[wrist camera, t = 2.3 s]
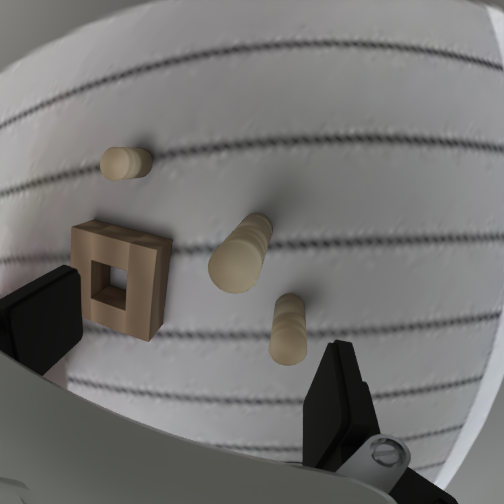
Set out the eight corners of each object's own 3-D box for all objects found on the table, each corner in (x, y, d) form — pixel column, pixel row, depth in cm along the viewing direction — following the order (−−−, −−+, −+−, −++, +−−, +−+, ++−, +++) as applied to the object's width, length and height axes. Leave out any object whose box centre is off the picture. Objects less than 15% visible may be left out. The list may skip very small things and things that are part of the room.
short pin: (154, 150, 29) (130, 148, 24) (149, 179, 30) (125, 183, 25) (129, 146, 29) (103, 145, 24) (124, 175, 30) (98, 178, 25)
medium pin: (308, 297, 31) (312, 338, 23) (300, 323, 32) (301, 368, 24) (279, 290, 31) (274, 330, 23) (272, 316, 32) (265, 361, 24)
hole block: (172, 239, 31) (156, 250, 27) (162, 324, 34) (148, 341, 30) (93, 219, 32) (71, 227, 28) (90, 299, 34) (72, 312, 31)
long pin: (275, 217, 29) (264, 251, 18) (268, 247, 30) (253, 298, 19) (244, 210, 29) (213, 238, 18) (237, 240, 30) (204, 286, 19)
